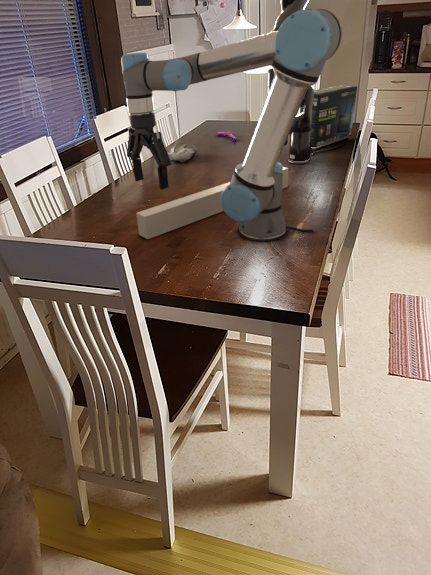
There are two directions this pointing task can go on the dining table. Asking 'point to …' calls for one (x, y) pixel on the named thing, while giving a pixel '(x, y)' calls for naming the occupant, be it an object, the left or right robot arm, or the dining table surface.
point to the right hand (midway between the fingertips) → (275, 143)
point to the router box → (332, 113)
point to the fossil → (181, 152)
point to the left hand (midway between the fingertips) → (151, 184)
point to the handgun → (227, 133)
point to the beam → (184, 210)
